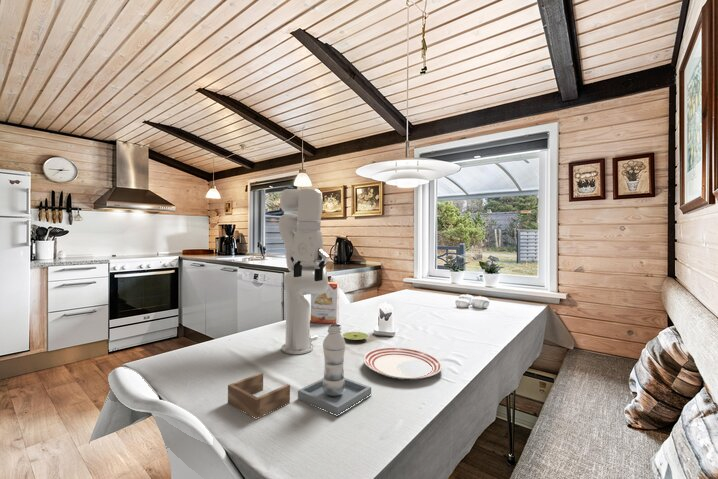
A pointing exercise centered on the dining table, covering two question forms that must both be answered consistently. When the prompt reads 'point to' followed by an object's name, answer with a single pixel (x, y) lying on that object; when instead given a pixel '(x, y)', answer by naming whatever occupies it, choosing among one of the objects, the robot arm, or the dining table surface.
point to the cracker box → (326, 305)
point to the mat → (355, 335)
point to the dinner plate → (398, 361)
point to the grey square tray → (334, 403)
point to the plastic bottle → (334, 361)
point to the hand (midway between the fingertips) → (307, 278)
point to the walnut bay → (254, 405)
